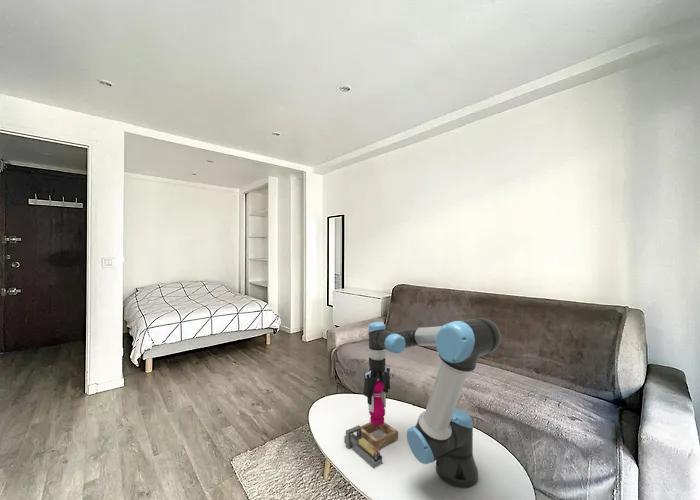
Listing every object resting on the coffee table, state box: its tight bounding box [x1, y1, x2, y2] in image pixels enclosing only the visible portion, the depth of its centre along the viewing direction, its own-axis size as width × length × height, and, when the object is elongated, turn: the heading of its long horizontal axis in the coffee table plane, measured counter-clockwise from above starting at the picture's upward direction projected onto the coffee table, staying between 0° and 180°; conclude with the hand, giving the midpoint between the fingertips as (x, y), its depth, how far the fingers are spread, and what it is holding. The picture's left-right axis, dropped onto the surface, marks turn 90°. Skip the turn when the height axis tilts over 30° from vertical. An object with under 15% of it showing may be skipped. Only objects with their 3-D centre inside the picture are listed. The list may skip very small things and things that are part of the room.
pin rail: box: [343, 424, 383, 469], centre depth 128 cm, size 20×7×7 cm, turn 36°
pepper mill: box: [368, 378, 386, 425], centre depth 138 cm, size 7×7×20 cm
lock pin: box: [359, 438, 381, 460], centre depth 124 cm, size 11×3×3 cm, turn 36°
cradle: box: [360, 421, 399, 450], centre depth 138 cm, size 13×13×4 cm
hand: (377, 408), depth 138 cm, fingers closed on pepper mill, 6 cm apart
